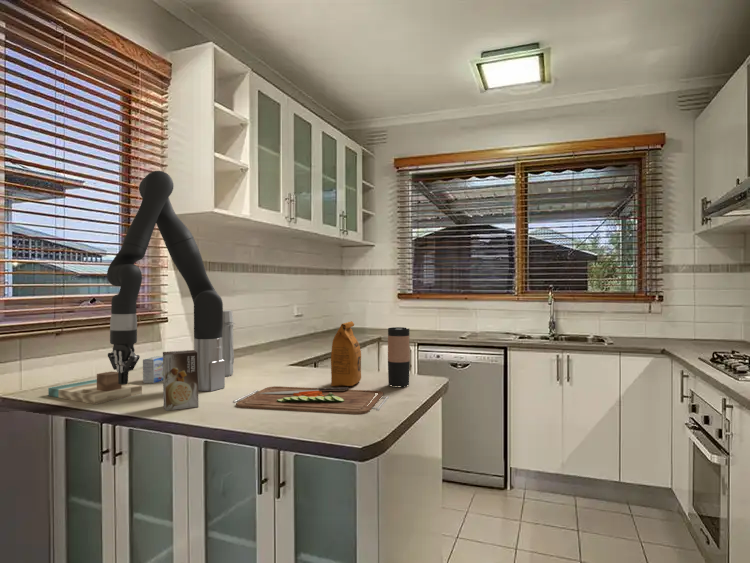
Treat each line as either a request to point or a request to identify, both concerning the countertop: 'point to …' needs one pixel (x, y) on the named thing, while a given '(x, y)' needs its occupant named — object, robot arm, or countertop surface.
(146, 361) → the medicine box
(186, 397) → the coffee box
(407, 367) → the travel mug
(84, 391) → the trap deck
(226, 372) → the water bottle
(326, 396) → the chopping board
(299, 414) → the countertop surface
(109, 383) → the walnut block
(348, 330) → the coffee package
